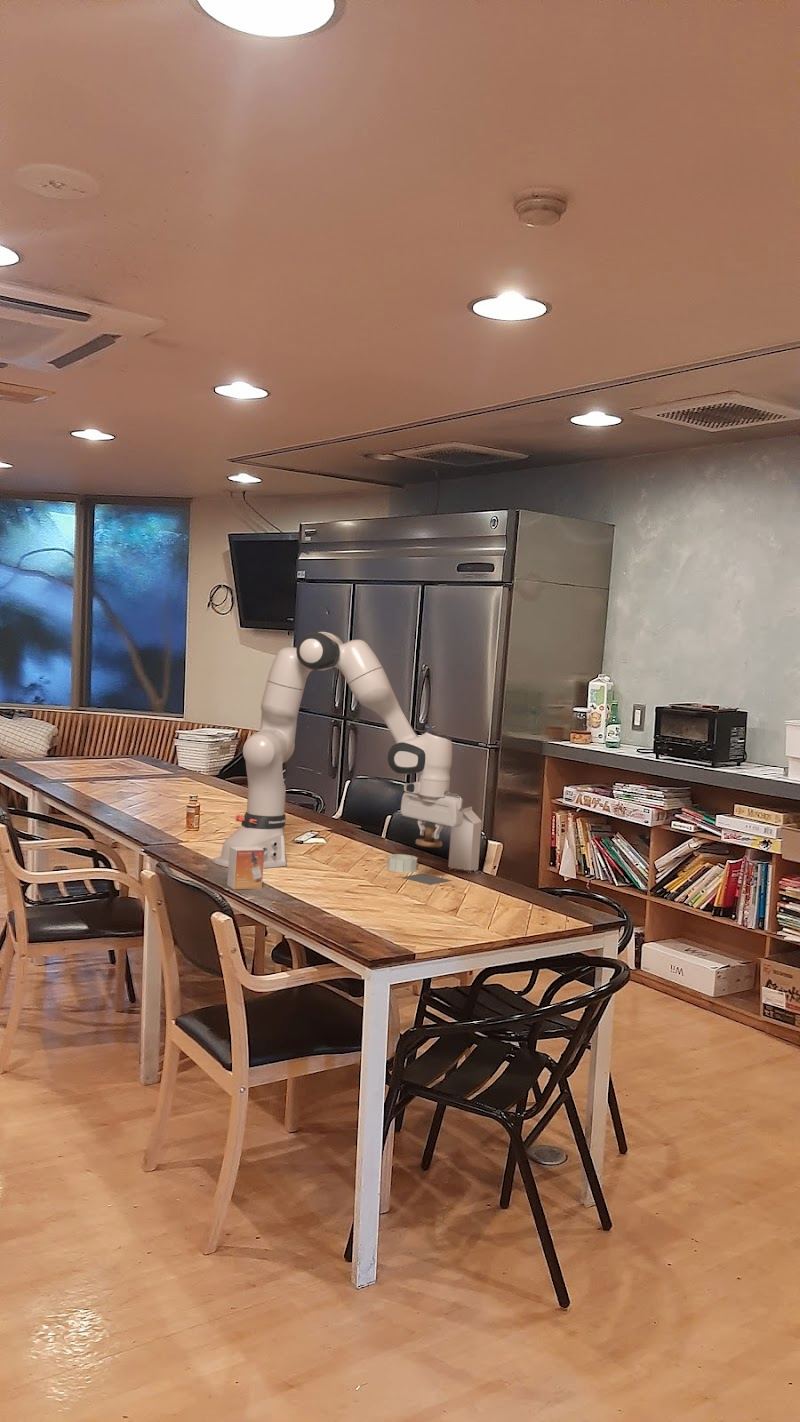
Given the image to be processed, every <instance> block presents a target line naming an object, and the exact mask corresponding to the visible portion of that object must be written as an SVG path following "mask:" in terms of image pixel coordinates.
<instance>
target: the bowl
mask: <svg viewBox="0 0 800 1422" xmlns="http://www.w3.org/2000/svg"><path fill="white" fill-rule="evenodd" d="M386 862H387V863H386V870H388V871H389V872H390V871H391V872H395V873H401V874H403V873H406V874H409V873H416V872H417V870H418V857H417V856H415V855H411V854H410V855H409V854H403V853H397V854H396V853H394V854H389V855H387V861H386Z"/></svg>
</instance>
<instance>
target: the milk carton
mask: <svg viewBox="0 0 800 1422" xmlns="http://www.w3.org/2000/svg"><path fill="white" fill-rule="evenodd" d="M482 823H483V821H482V820H481V818H479V816H478V815H477V814H476V813H475V812H474V811H473V806H469V807H465V808H463V823H462V825H461V826H459V827H451V826H450V836H449V837H450V839H449V852H448V863H447V864H448V865H447V866H448V867H451V868H457V869H464V870H470V871H471V870H474V872H476V871H478V870H479V864H480V863H479V861H480V850H481V837H482V834H481V833H482ZM448 867H447V868H448Z"/></svg>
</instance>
